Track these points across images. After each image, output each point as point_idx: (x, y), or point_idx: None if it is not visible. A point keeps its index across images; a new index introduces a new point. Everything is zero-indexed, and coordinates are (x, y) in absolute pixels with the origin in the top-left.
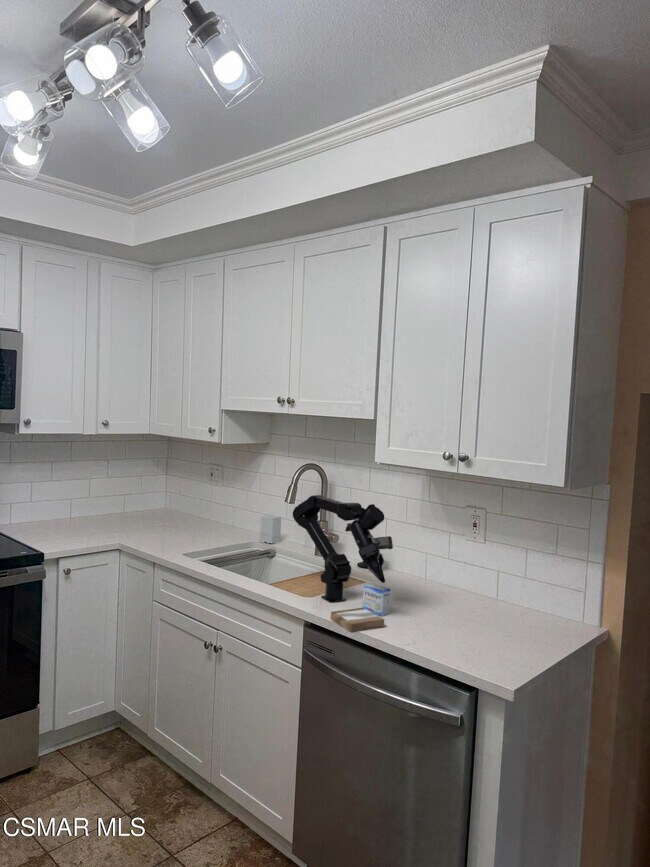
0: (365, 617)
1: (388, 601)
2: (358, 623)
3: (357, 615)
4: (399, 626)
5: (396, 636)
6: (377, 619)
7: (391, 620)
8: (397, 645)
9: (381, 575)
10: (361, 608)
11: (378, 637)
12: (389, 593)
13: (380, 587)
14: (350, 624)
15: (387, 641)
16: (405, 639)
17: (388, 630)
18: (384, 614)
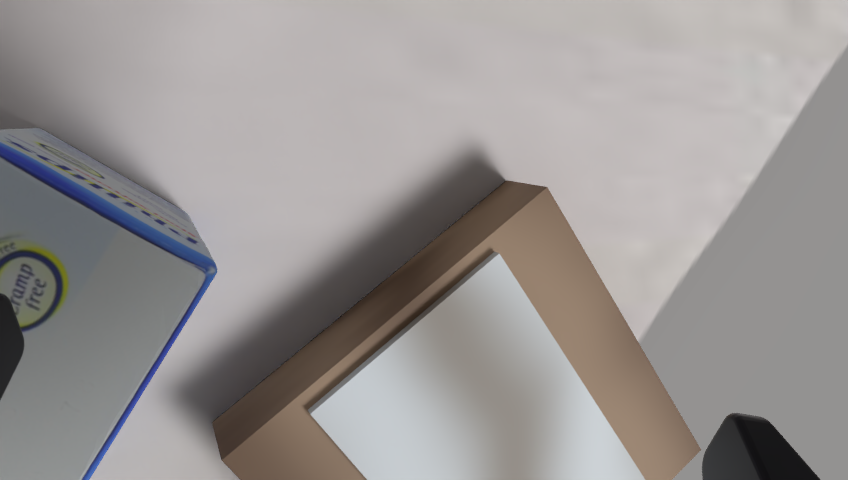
0: (563, 371)
1: (47, 147)
2: (672, 403)
3: (525, 453)
4: (447, 25)
5: (674, 73)
6: (563, 254)
7: (287, 100)
8: (816, 77)
9: (766, 433)
10: (257, 466)
11: (709, 216)
12: (7, 143)
13: None
14: (681, 458)
15: (764, 148)
16: (719, 2)
17: (565, 137)
18: (133, 182)
